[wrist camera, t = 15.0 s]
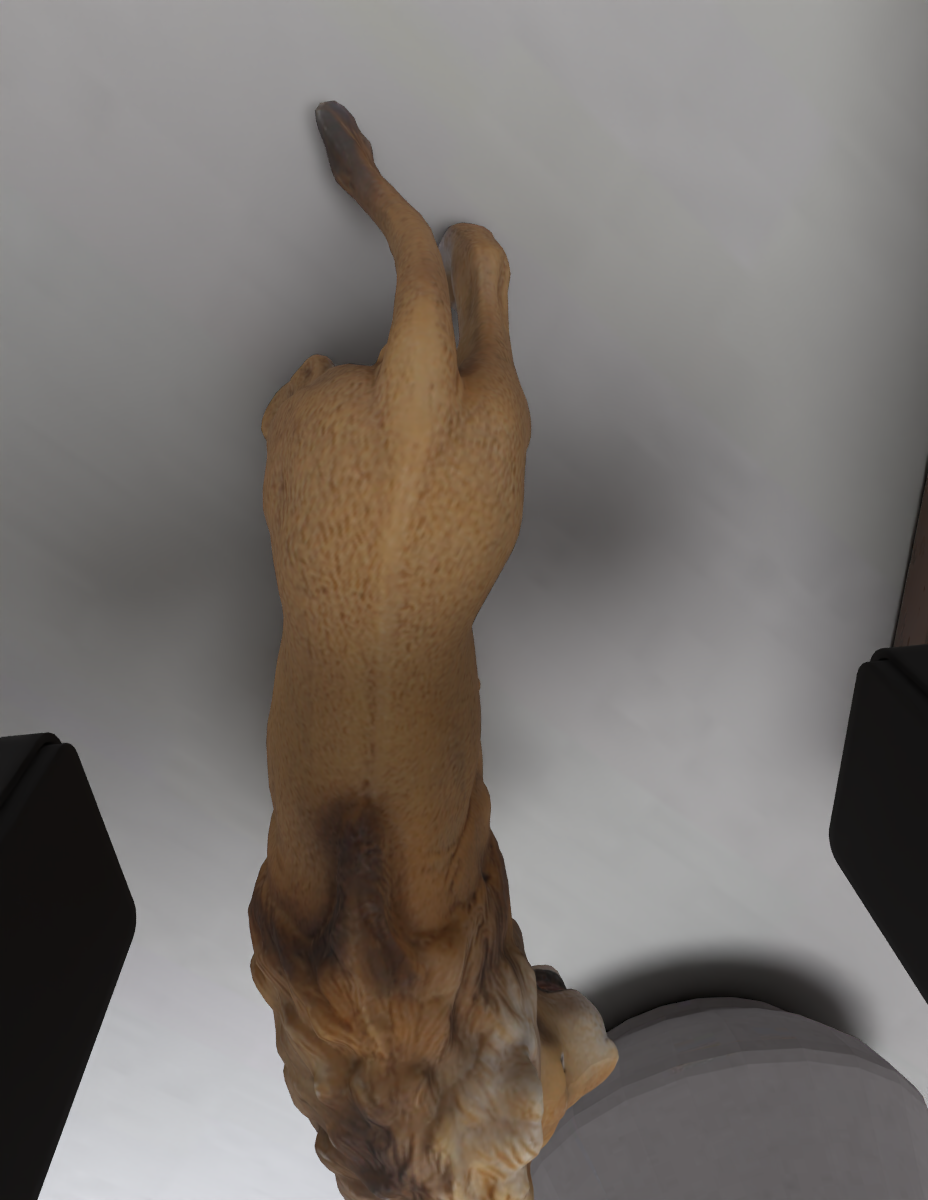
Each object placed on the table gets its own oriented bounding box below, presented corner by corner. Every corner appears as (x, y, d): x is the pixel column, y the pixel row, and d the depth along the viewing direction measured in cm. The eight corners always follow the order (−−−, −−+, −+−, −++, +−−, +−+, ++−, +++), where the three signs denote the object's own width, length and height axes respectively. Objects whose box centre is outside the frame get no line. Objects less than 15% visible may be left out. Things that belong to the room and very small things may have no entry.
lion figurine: (546, 820, 19) (666, 1281, 11) (321, 852, 19) (275, 1345, 11) (494, 87, 12) (714, -124, 4) (141, 126, 12) (-354, -16, 4)
